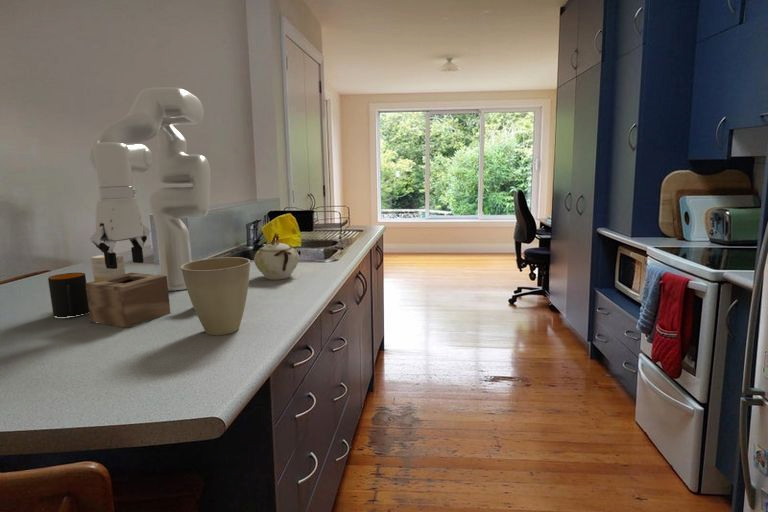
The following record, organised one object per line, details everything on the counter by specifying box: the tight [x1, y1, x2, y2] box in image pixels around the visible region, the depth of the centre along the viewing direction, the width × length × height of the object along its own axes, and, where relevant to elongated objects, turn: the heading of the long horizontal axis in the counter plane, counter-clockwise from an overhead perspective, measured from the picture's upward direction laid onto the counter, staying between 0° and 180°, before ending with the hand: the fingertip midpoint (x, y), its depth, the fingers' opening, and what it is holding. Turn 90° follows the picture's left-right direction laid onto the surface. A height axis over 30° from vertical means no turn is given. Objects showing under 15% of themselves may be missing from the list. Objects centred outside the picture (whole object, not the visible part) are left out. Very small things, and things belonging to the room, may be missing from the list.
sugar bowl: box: [253, 233, 300, 281], centre depth 170 cm, size 20×15×15 cm
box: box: [85, 272, 171, 329], centre depth 127 cm, size 13×13×10 cm
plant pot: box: [181, 256, 251, 336], centre depth 114 cm, size 15×15×16 cm
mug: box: [47, 272, 89, 317], centre depth 130 cm, size 8×12×10 cm
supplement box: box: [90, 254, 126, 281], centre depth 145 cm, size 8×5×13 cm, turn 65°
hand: (125, 264), depth 125 cm, fingers open, 7 cm apart
